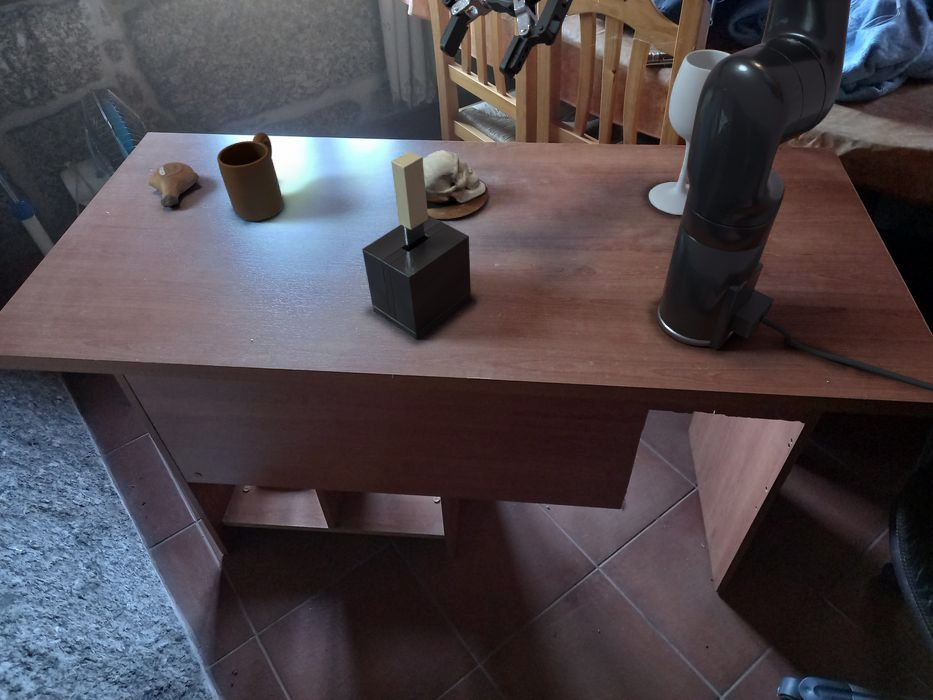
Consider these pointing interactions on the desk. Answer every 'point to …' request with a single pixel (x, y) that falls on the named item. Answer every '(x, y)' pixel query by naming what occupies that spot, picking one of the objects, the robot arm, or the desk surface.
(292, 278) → the desk surface
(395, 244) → the knife block
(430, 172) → the skull
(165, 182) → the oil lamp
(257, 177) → the mug
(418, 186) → the knife
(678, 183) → the wineglass
